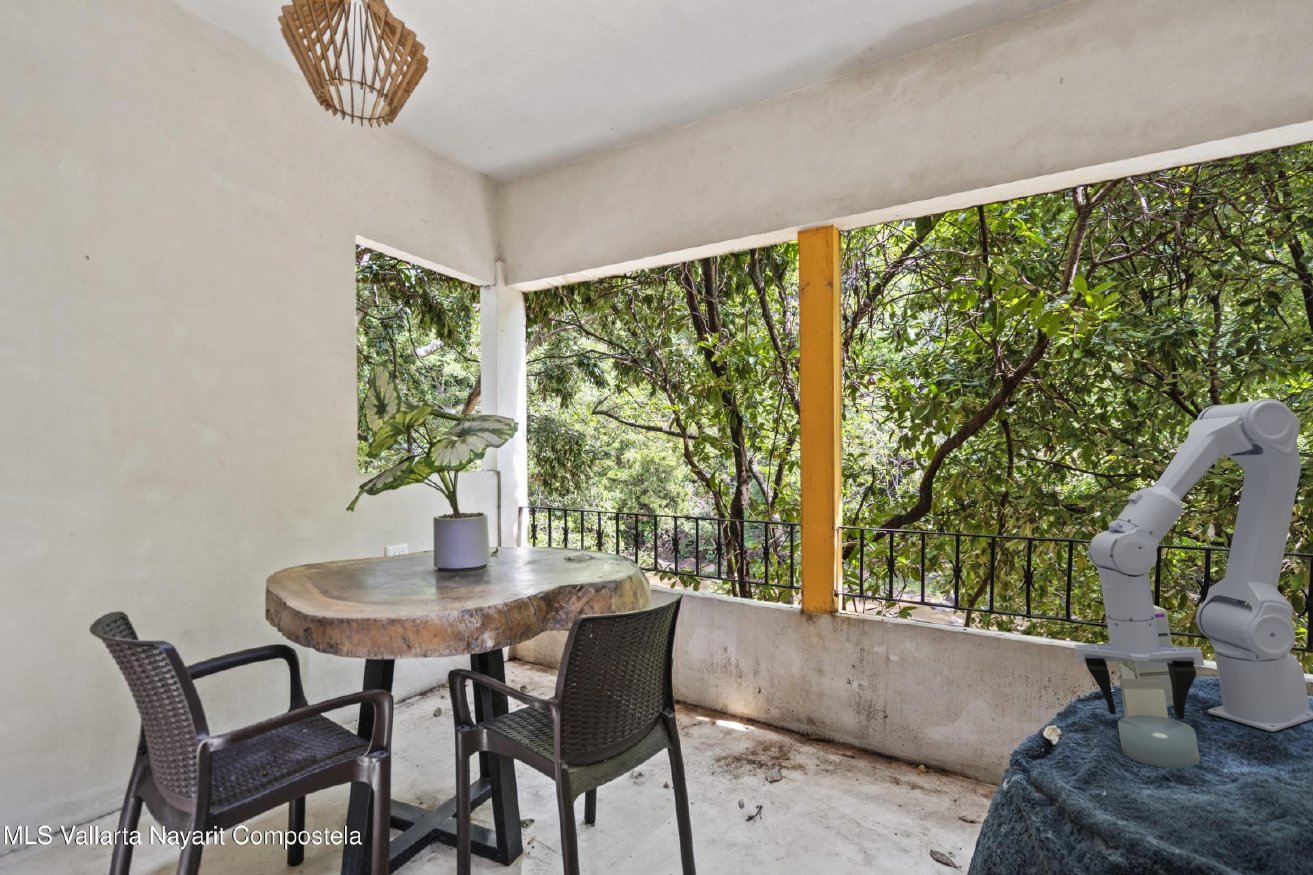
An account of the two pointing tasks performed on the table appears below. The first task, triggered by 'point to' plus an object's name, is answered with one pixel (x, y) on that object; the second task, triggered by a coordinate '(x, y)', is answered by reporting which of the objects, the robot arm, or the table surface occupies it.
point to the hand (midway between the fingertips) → (1145, 713)
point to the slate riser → (1158, 741)
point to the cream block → (1143, 697)
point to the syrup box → (1149, 668)
